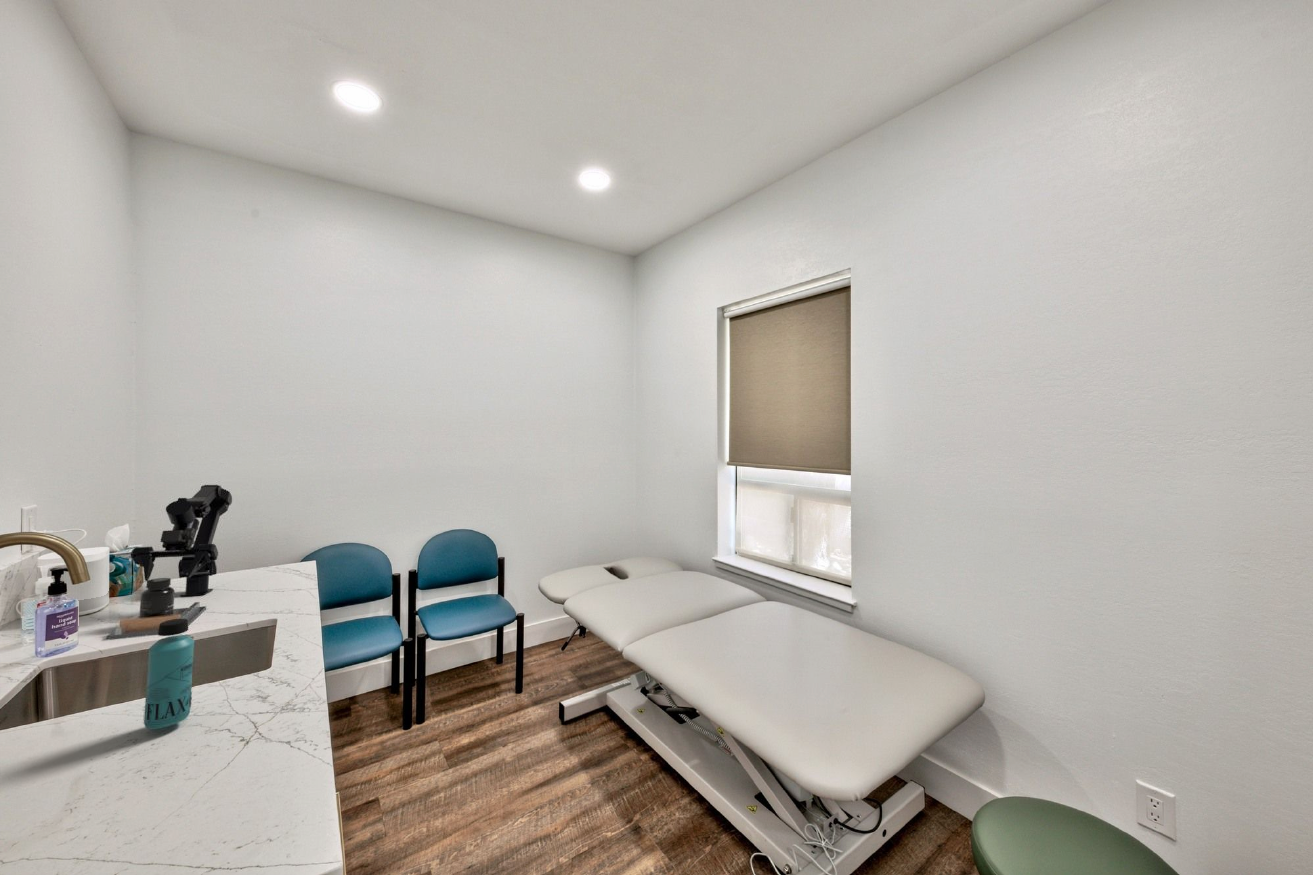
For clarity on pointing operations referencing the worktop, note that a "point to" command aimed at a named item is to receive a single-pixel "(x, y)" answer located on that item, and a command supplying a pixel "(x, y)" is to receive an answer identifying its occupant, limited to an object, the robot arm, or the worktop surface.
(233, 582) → the worktop surface
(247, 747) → the worktop surface
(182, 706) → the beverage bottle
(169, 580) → the supplement bottle
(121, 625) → the rail plate
